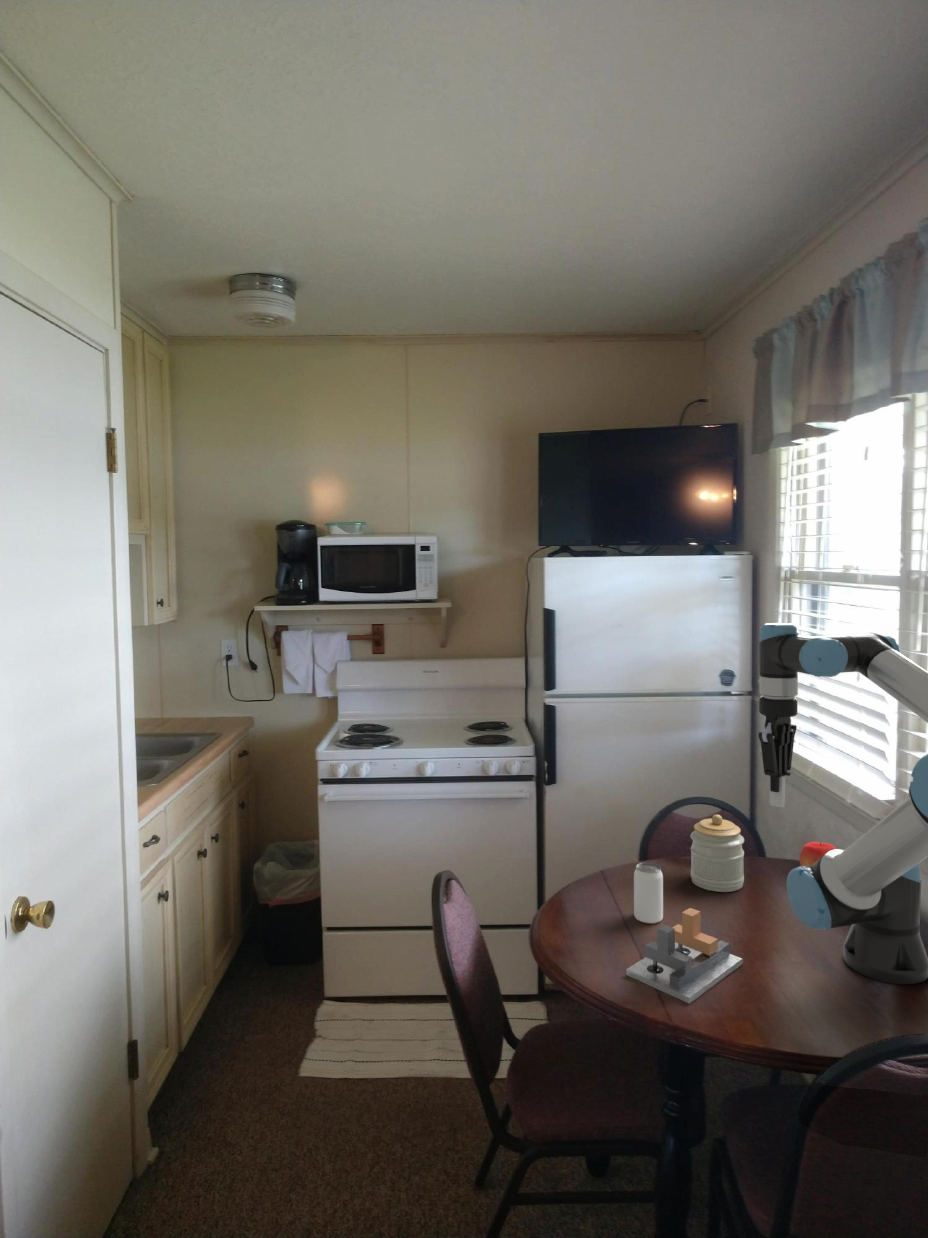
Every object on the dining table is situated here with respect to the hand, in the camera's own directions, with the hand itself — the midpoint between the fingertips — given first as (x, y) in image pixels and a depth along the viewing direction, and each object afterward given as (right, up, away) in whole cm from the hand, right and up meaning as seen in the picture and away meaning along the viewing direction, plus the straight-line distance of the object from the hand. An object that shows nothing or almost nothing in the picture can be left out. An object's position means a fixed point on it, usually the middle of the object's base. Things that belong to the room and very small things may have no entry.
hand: (777, 805), depth 162 cm
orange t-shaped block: (-20, -29, -8) cm, 36 cm away
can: (-24, -29, +13) cm, 40 cm away
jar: (-2, -28, +32) cm, 42 cm away
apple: (+24, -27, +31) cm, 48 cm away
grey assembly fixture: (-23, -31, -10) cm, 39 cm away
